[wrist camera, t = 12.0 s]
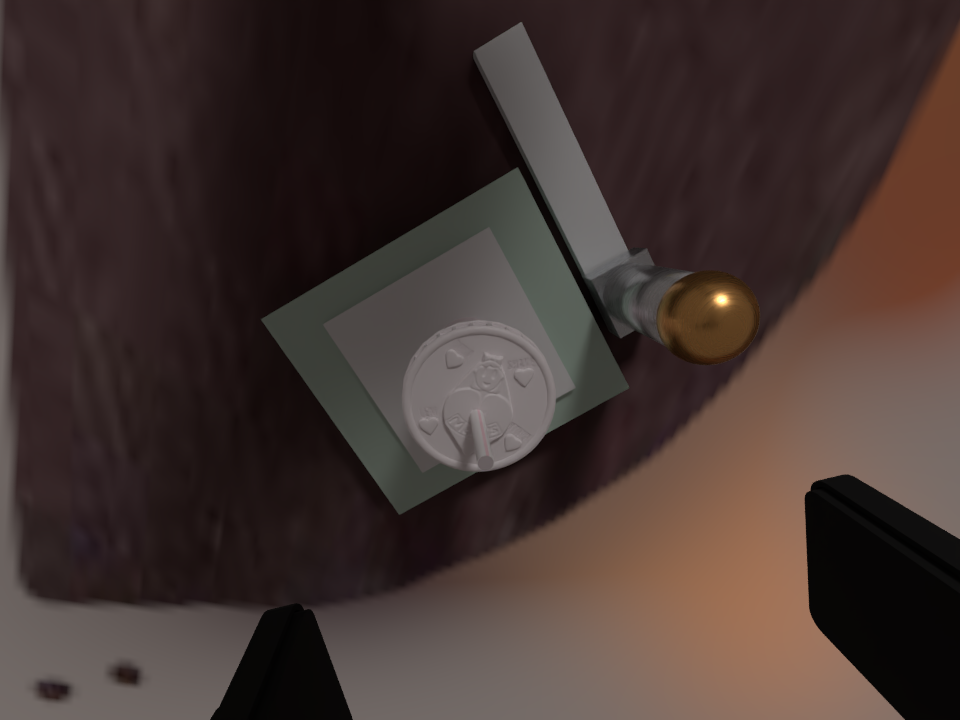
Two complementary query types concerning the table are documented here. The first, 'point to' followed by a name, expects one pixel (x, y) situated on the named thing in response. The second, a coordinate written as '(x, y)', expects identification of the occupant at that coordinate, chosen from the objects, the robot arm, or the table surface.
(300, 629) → the robot arm
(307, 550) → the table surface
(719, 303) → the lever
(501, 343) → the smoothie
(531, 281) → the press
